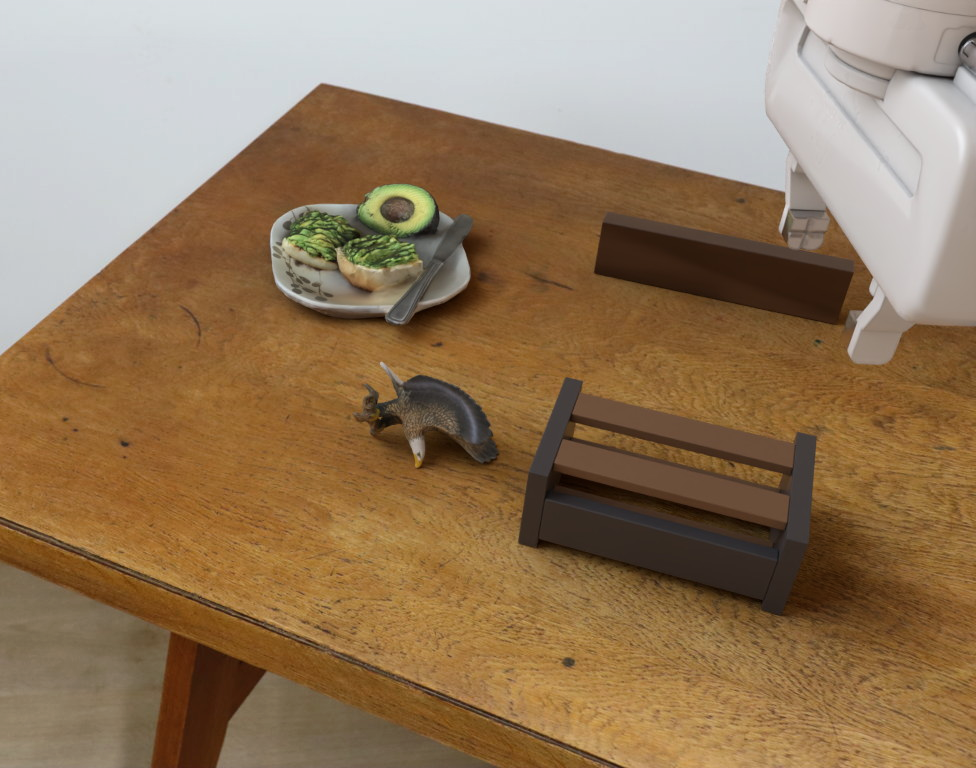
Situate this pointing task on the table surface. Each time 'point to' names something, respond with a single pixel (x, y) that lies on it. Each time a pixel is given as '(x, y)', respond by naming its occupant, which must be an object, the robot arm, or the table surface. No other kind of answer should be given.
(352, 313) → the salad plate
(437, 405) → the eagle figurine
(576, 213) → the table surface
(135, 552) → the table surface
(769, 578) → the shoe rack
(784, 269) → the board
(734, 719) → the table surface
